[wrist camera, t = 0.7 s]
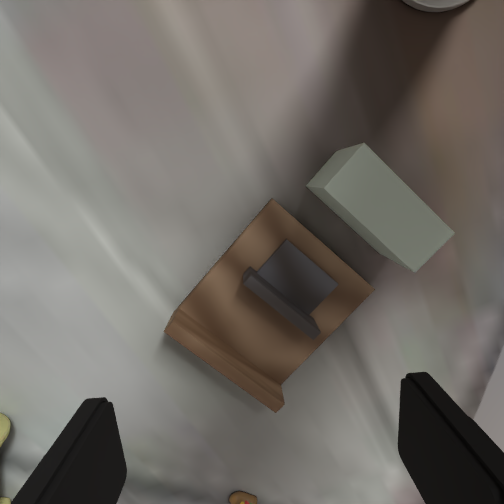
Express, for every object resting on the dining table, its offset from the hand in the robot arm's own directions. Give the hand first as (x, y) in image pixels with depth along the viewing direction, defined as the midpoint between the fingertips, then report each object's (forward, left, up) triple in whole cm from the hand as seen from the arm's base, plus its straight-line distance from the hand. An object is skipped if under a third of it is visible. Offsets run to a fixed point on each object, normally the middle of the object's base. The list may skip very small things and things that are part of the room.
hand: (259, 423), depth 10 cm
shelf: (+3, +7, -27) cm, 28 cm away
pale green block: (-12, +7, -27) cm, 30 cm away
